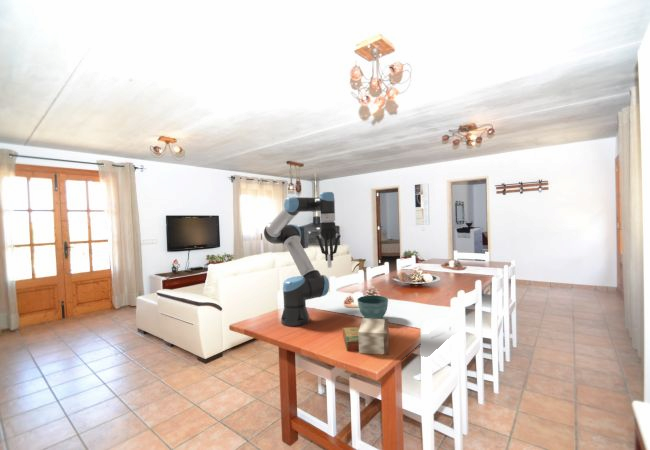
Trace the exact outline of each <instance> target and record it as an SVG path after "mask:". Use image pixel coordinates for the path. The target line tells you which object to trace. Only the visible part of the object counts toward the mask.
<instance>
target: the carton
mask: <svg viewBox="0 0 650 450" xmlns="http://www.w3.org/2000/svg"><path fill="white" fill-rule="evenodd" d="M359 328H360V326H355V327H354V326H353V327H343V328H342V329H341V330H342V338H343V342H344V345H345V348H346V349H345V350H346V351H347V352H351V351H359V338H358V331H359Z"/></svg>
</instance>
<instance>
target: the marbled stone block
mask: <svg viewBox="0 0 650 450" xmlns="http://www.w3.org/2000/svg"><path fill="white" fill-rule="evenodd" d="M359 327H360V328H359V331H358V338H359V350H358V353H359V354H370V355H383V354H387V356H388V355H389V347H390V346H389V342H390V335H389V334H390V331H389V328H390V327H389V319H388V318H383V319H371V318H364V317H362V319H361V322H360V326H359Z"/></svg>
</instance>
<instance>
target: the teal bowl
mask: <svg viewBox="0 0 650 450" xmlns="http://www.w3.org/2000/svg"><path fill="white" fill-rule="evenodd" d="M388 302H389V299H388V297H385V296H382V295H374V294H371V295H369V294H368V295H363V296H360V297H358V298H357V305H358V309H359V312H360V313H361V315H362V317H363V318H371V319H384V318H383V317H384V316H385V315H386V313H387V309H388V306H389V305H388V304H389V303H388Z"/></svg>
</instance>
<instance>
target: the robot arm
mask: <svg viewBox="0 0 650 450" xmlns="http://www.w3.org/2000/svg"><path fill="white" fill-rule="evenodd" d="M335 201H336V200H335V193H334V192H333V191H323V192H320V193H319V196H317V197H303V196H302V197H299V196H298V197H297V196H290V197H286V198H285V200H284V203H283V208H282V210H281V211H280V212H279V213H278V215H277V216H276V217H275V218H274V219H273V220H272V222H269V223H267V225H266V226H265V228H264V229H263V236H264V239H265V240H266V241H267V242H269V243H270V244H275V245H276V244H278V245H279V244H282V245H283V247H284V248H285V249H287V250H288V252H289V254H290V256H291V257H292V260H293V262H294V264H295V265H296V268H297V270H298V272H299V274H300V275H298V276H297V275H296V276H291V277H288V278H286V279H285V280H283V284H282V292H283V311H282V313H281V314H282V315H281V317H280V319H281V320H280V323H281V324H282V325H283V326H287V327H298V326H304V325H306V324H308V323H309V322H310V314H309V311H308V309H307V306H306V305H307V304H306V301H307V300H311V299H312V300H313V299H316V298H321V297H325V296H326V295H328V292H329V290H330V282H329V278H328V276H326V275H324V274H321V273H320V271H319V270H318V269H316V268H315V267H314V265H313V263H312V262H311V260H310V258H309V256H308V254H307V252H306V251H305V249H304V247H303V245H302V244H301V240H302V230H301V228H300V227H299V226H298V225H297V224H290V222H291V221H293V219H295V218H296V216H297V215H299V213H301V212H303V213H304V212H313V213H315V212H316V213H317V212H319V213H320V214H319V215H320V222H321V223H320V233H319V234H318V235H316V236H315V237H316V239H317V240H318V244H319V248H320V251H321V254H322V255H325V261H326V262H327V268H332V266H333V264H332V262H333V261H334V255H335V254H336V253H337V251H338V246H339V243H340V239H341V234H339V233H337V230H336V222H335V221H336V212H335V211H336V209H335V208H336V206H335ZM334 238H335V241H334ZM322 239H323V240H324V243H323V240H322Z"/></svg>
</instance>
